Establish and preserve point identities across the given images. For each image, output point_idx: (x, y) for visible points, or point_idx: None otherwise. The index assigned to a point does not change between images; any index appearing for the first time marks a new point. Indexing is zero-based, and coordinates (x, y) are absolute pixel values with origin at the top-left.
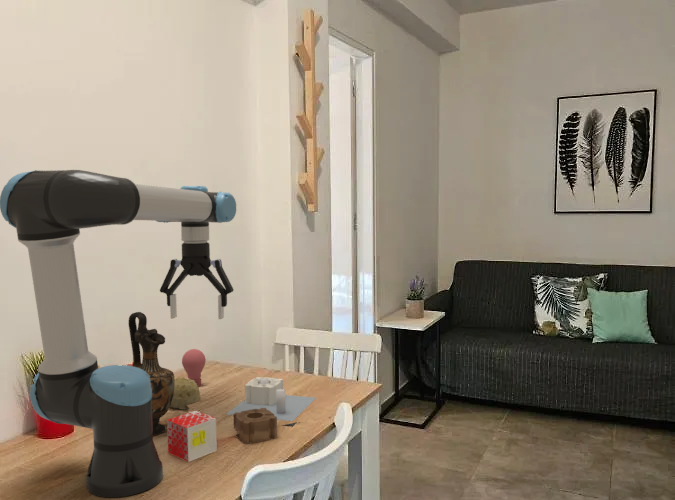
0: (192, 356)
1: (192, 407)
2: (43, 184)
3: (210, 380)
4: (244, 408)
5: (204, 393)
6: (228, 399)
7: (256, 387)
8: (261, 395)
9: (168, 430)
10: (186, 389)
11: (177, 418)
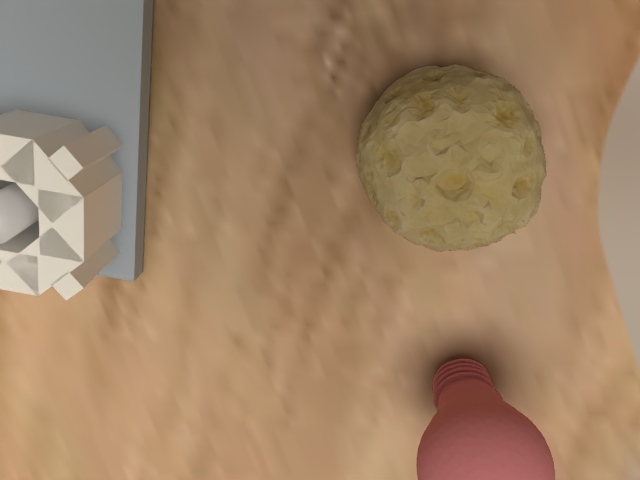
0: (481, 453)
1: None
2: None
3: None
4: (87, 49)
5: (390, 303)
6: (250, 234)
7: (7, 134)
8: (4, 121)
9: None
10: (405, 101)
11: None
